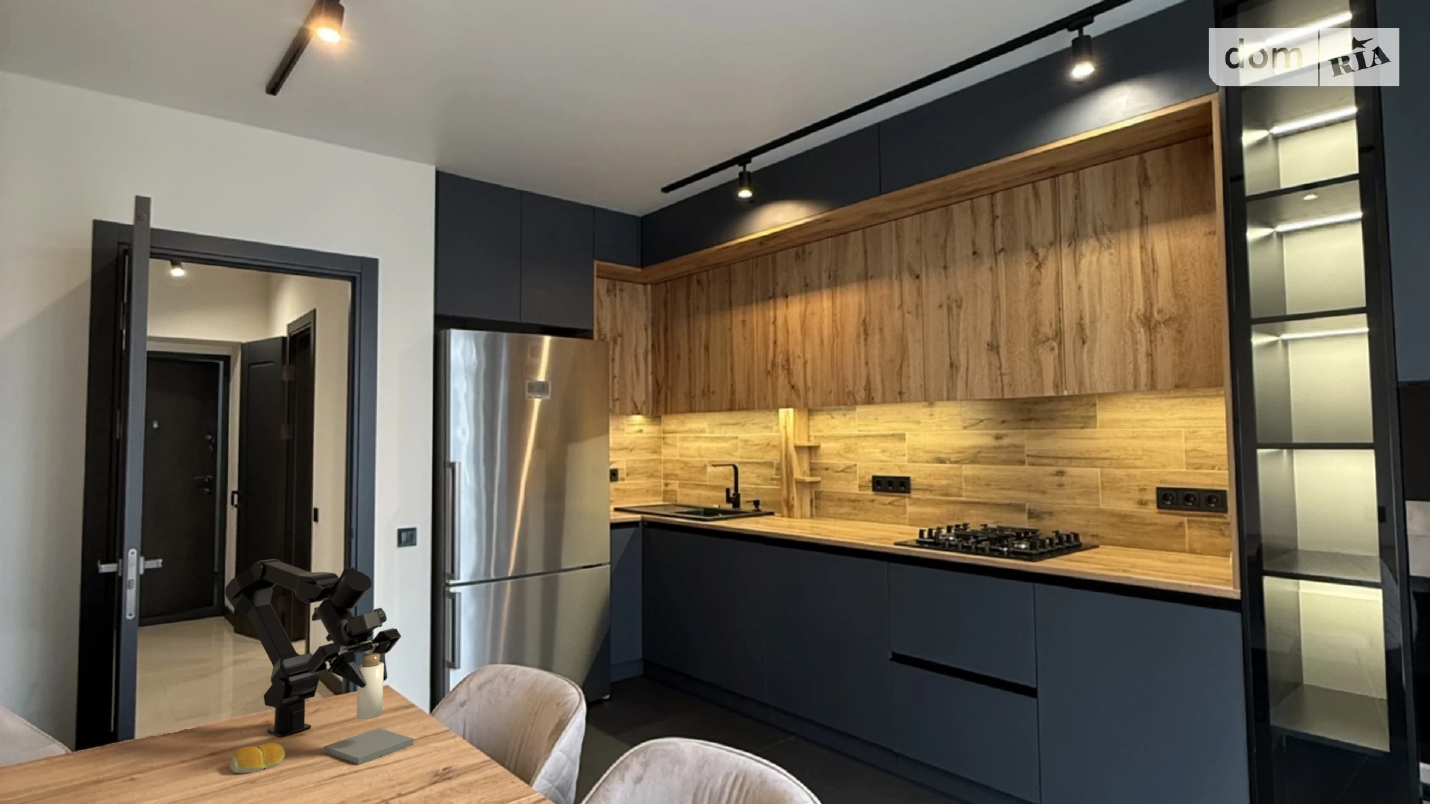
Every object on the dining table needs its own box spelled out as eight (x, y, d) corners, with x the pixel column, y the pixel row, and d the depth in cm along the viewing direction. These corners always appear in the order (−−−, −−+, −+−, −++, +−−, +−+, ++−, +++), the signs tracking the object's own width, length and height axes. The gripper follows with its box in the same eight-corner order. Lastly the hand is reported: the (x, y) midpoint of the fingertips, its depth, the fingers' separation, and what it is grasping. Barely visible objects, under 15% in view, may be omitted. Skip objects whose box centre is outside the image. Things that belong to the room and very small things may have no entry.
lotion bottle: (351, 718, 150) (353, 657, 151) (365, 710, 155) (367, 651, 156) (373, 719, 149) (375, 658, 150) (387, 711, 154) (388, 652, 155)
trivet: (323, 752, 150) (324, 746, 150) (378, 733, 160) (378, 728, 160) (358, 764, 143) (358, 758, 143) (413, 744, 153) (413, 738, 153)
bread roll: (290, 764, 145) (291, 743, 145) (237, 778, 138) (238, 756, 138) (276, 753, 150) (277, 732, 151) (225, 766, 144) (226, 745, 144)
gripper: (319, 605, 147) (355, 669, 142) (396, 590, 164) (431, 646, 158) (291, 642, 150) (326, 705, 144) (370, 623, 167) (404, 680, 161)
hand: (375, 682), depth 152 cm, fingers closed on lotion bottle, 5 cm apart
